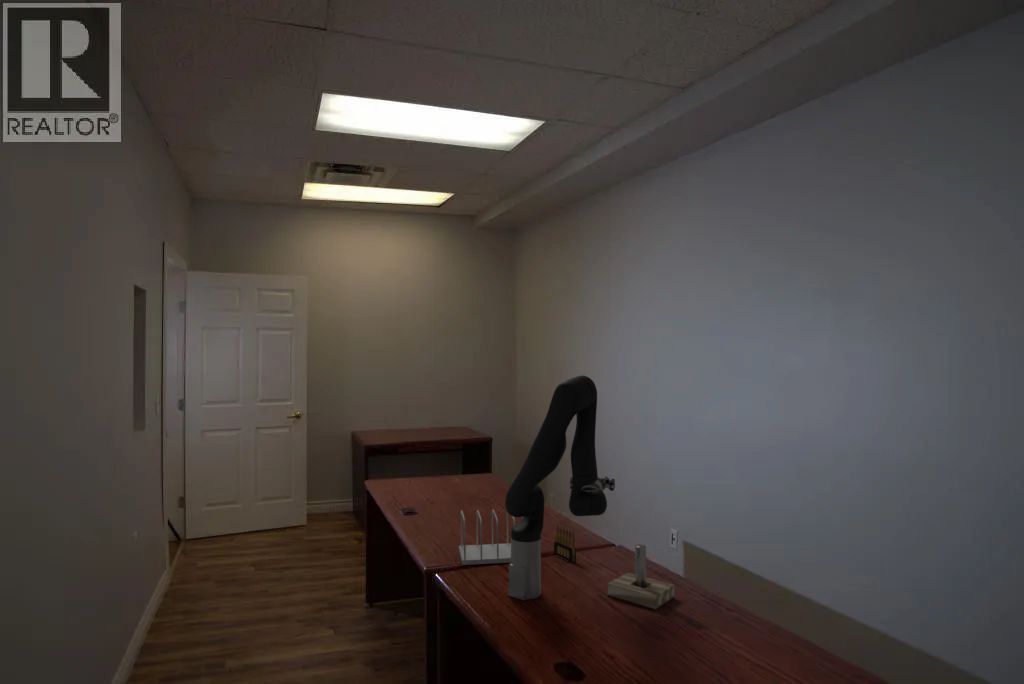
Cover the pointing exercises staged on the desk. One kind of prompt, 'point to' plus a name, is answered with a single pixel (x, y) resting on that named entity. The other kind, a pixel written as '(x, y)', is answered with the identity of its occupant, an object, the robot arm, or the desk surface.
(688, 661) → the desk surface
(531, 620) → the desk surface
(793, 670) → the desk surface
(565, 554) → the ammunition clip
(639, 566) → the steel pin
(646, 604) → the socket block
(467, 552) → the file sorter
